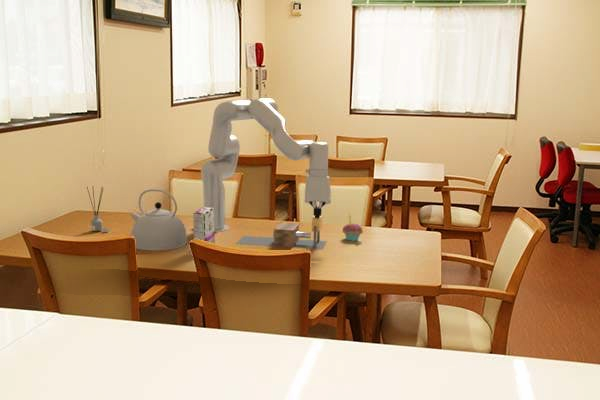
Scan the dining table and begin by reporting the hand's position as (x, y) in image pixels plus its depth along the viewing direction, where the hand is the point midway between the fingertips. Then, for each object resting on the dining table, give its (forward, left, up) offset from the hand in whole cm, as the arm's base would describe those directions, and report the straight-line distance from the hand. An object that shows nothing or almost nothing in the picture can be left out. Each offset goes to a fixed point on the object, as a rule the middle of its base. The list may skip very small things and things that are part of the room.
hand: (317, 217), depth 266 cm
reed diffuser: (-97, +2, -12) cm, 97 cm away
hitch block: (-8, 0, -12) cm, 14 cm away
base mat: (-15, 0, -12) cm, 19 cm away
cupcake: (+13, +13, -12) cm, 22 cm away
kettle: (-65, -10, -13) cm, 67 cm away
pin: (-10, 0, -10) cm, 14 cm away
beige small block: (0, 0, -5) cm, 5 cm away
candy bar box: (-43, -17, -12) cm, 47 cm away
